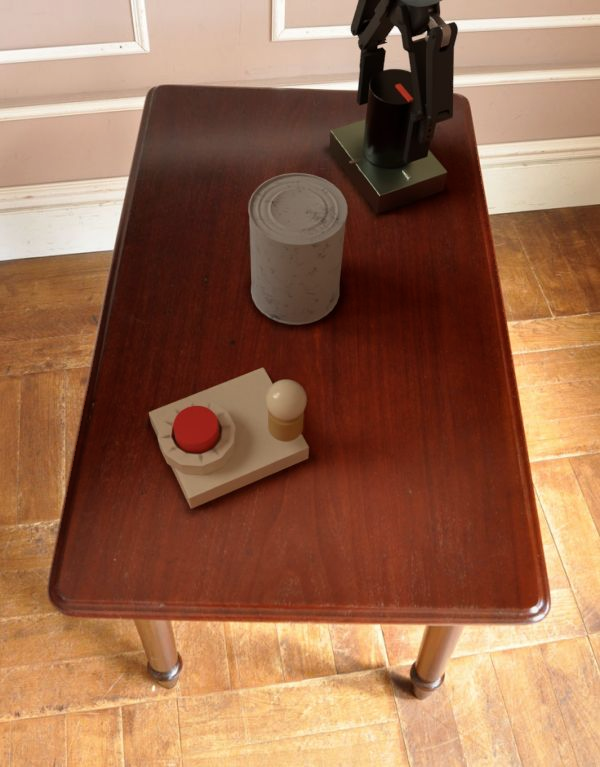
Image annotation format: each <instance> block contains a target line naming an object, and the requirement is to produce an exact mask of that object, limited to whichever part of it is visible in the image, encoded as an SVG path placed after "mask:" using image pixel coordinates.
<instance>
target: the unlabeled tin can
mask: <svg viewBox="0 0 600 767" xmlns="http://www.w3.org/2000/svg"><path fill="white" fill-rule="evenodd" d="M348 209H349V208H348V203H347V200H346V198H345V196H344V194H343V193H342V191H341V189H339V188H338V187H337V185H335V184H333V183H332V182H330V181H329V180H327V179H326V178H323V177H320V176H318V175H314V174H310V173H305V172H304V173H303V172H290V173H283V174H279V175H276V176H273V177H271V178H269V179H267V180H265V181H264V182H262V183H261V184H260V185H259V186H257V187H256V188H255V189H254V191H253V193H251V196H250V199H249V200H248V208H247V211H248V216H249V247H250V248H249V250H250V273H251V274H250V275H251V276H250V277H251V278H250V279H251V284H250V294H251V299H252V302H253V303H254V305H255V307H256V308H257V310H259V311H260V312H261V314H263V315H264V316H266V317H267V318H268V319H270V320H273V321H275V322H277V323H280V324H284V325H289V326H290V325H295V326H301V325H308V324H312V323H314V322H317V321H319V320H321V319H323V318H325V317H326V316H328V314H330V312H332V311H333V309H334V308H335V306H336V305H337V303H338V300H339V298H340V284H341V283H340V282H341V271H342V263H343V254H344V253H343V252H344V243H345V233H346V224H347V223H346V222H347V218H348Z"/></svg>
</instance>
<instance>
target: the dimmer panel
mask: <svg viewBox="0 0 600 767" xmlns="http://www.w3.org/2000/svg"><path fill="white" fill-rule="evenodd" d="M365 121H366V118H365V119H362V120H359V121H356V122H355V121H354V122H352V123H350V124H347V125H343V126H340V127H337V128H334V129H331V130H330V133H329V146H328V150H329V152H330V153H331V154H332V156H333V157H334V159H335V160H336V161H337V162H338V164H339V165H340V167H341V168H342V169H343V170H344V172H345V173H346V174H347V176H348V177H349V179H350V180H351V182H353V184H354V185H355V187H356V188H357V189H358V191H359V192H360V193H361V195H362V197H364V199H365V200H366V201H367V203H368V205H370V207H371V208H372V209H373V211H374V212H375V214H376V215H379V214H382V213H385V212H388V211H390V210H393V209H396V208H399V207H402V206H404V205H407V204H410V203H413V202H416V201H419V200H422V199H423V198H427V197H430V196H433V195H435V194H439V193H441V192H444V189H445V185H446V181H447V175H448V171H447V170H446V168H445V167H444V166H443V165H442V164H441V162H440V161H439V159H437V158H436V157H435V155H434V154H433V153H432V151H431V150H429V151H428V156H427V157H425V158H422V159H419V160H416V161H414V162H411V163H408V164H405V165H403V166H400V167H396V168H385V167H380V166H377V165H375V164H373V163H371V162H370V161H369V160H368V159H367V158H366V157H365V156H364V153H363V139H364V130H365Z"/></svg>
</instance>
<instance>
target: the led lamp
mask: <svg viewBox="0 0 600 767" xmlns="http://www.w3.org/2000/svg"><path fill="white" fill-rule="evenodd" d="M307 398H308V397H307V393H306V390H305V389H304V387H303V386H302V385H301V384H300V383H299V382H297V381H296V380H293V379H285V378H284V379H279V380H277V381H275V382H274V383H273V384H272V385H271V386H270V388H269V389H268V391H267V394H266V398H265V401H266V407H267V409H268V430H269V432H270V434H271V435H272V436H273V437H274V438H275V439H277V440H279V441H283V442H288V441H292V440H294V439H296V438H298V437H299V436H300V434H302V433H303V431H304V417H305V415H304V414H305V409H306V406H307V402H308V399H307Z"/></svg>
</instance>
